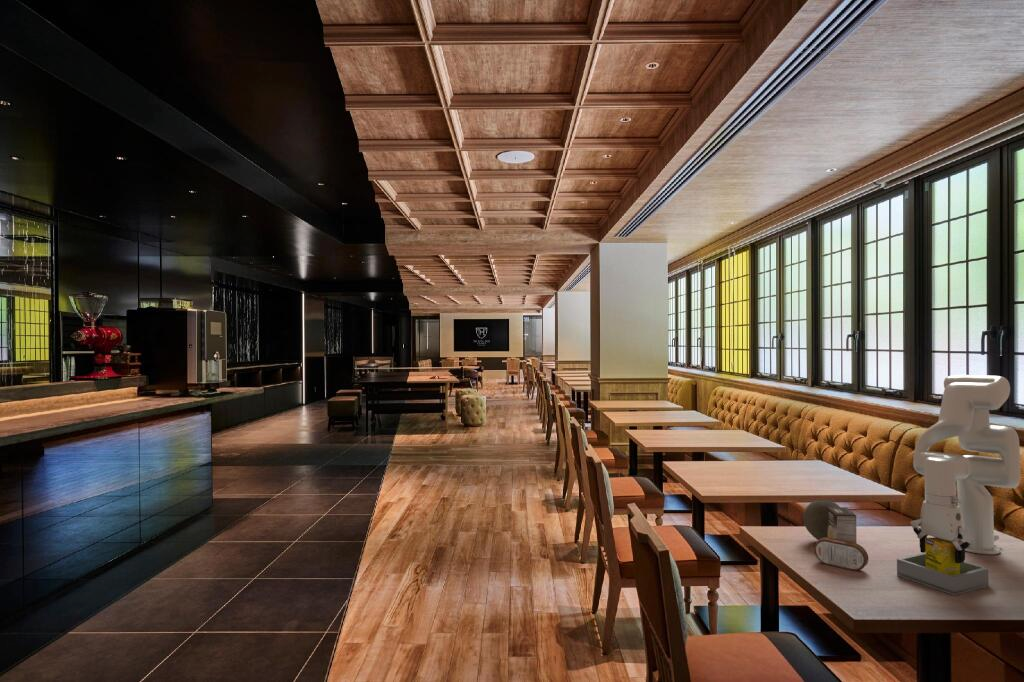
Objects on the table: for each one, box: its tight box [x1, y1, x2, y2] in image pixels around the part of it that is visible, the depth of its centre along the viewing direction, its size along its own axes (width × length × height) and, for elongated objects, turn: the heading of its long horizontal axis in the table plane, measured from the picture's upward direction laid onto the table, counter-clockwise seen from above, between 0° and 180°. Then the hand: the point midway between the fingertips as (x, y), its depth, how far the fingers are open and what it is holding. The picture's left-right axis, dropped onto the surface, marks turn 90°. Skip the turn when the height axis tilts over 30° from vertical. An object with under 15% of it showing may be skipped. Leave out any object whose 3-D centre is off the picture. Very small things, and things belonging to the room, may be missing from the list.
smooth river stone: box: [802, 499, 841, 541], centre depth 208 cm, size 14×14×15 cm
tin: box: [813, 537, 869, 572], centre depth 186 cm, size 15×3×8 cm, turn 47°
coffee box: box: [827, 506, 857, 543], centre depth 192 cm, size 9×6×16 cm
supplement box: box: [925, 536, 960, 576], centre depth 174 cm, size 6×6×11 cm
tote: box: [896, 552, 990, 596], centre depth 174 cm, size 16×16×5 cm
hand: (941, 556), depth 175 cm, fingers open, 9 cm apart
